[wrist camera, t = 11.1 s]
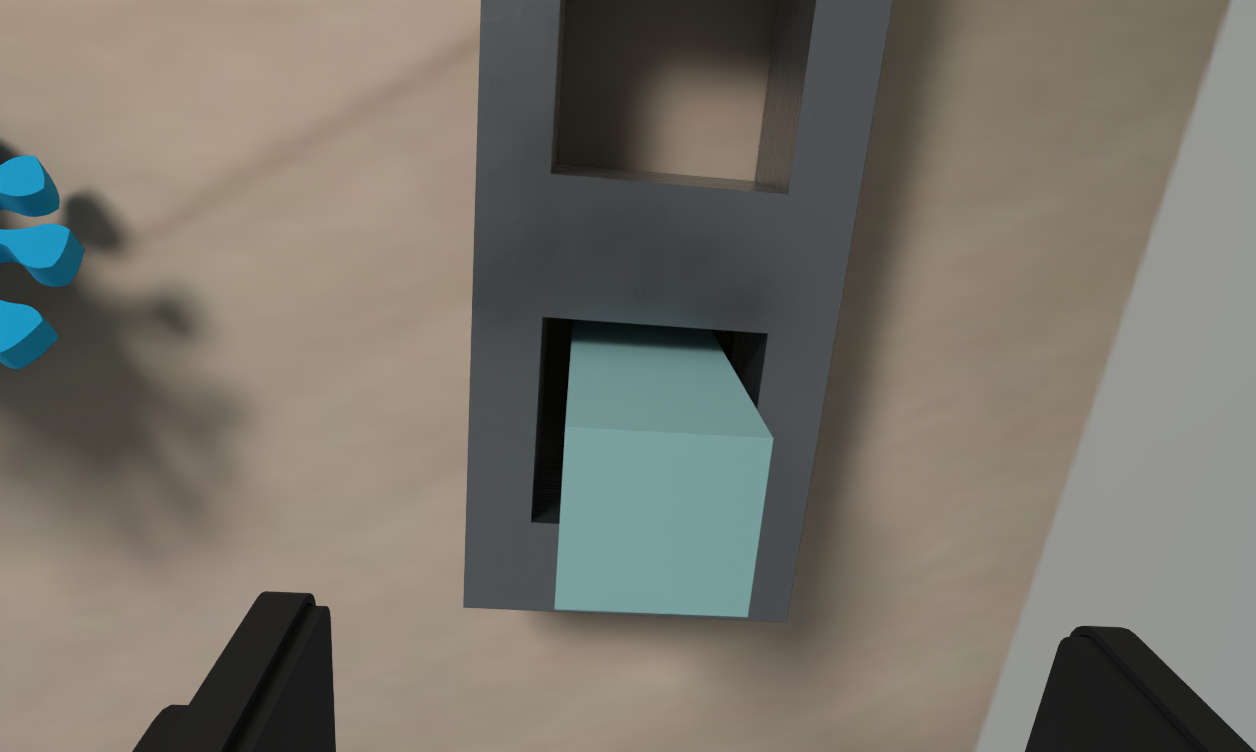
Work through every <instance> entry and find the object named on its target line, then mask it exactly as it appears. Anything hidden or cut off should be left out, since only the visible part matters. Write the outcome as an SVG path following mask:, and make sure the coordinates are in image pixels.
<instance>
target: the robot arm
mask: <svg viewBox="0 0 1256 752" xmlns="http://www.w3.org/2000/svg"><path fill="white" fill-rule="evenodd" d="M132 752H336V743H335V718H334V692H333V667H332V641H331V617H330V610H329V608H328V607H327V606H316V603H315V599H314V596H313V595H312V594H311V593H291V592H267V591H265V592H263V593H261V594H260V595H259V596H258V598H257V599H256V601H255V602H254V604H253V605H252V607H251V608H250V610H249V611H248V613H247V615H246V616H245V618H244V619H243V621H242V622H241V624H240V626H239V627H238V629H237V630H236V632H235V633H234V635H233V636H232V638H231V640H230V641H229V643H228V644H227V646H226V647H225V649H224V651H223V652H222V654H221V655H220V657H219V658H218V660H217V661H216V663H215V665H214V666H213V668H212V669H211V671H210V672H209V674H208V676H207V677H206V679H205V680H204V682H203V683H202V685H201V686H200V688H199V690H198V691H197V693H196V694H195V696H194V697H193V699H192V701H191V702H190V704H189V705H170V706H168V707H166V708H165V709H163V710H162V711H161V712H160V713H159V715H158V716H157V717H156V718H155V719H154V720H153V722H152V723H151V725H150V726H149V728H148V729H147V731H146V732H145V734H144V735H143V737H142V738H141V740H140V741H139V742H138V744H137V745H136V747H135V748H134V750H133V751H132ZM1025 752H1255V751H1254V750H1253V749H1252V748H1251V747H1250V746H1249V745H1248V744H1247V743H1246V742H1245V741H1244V740H1243V739H1242V738H1241V737H1240V736H1239V735H1238V734H1237V733H1236V732H1235V731H1234V730H1233V729H1231V727H1229V725H1227V724H1226V723H1225V722H1224V721H1223V720H1222V719H1221V718H1220V717H1219V716H1218V715H1217V714H1216V713H1215V712H1214V711H1213V710H1212V709H1211V708H1210V707H1209V706H1208V705H1207V704H1206V703H1205V702H1204V701H1203V700H1202V699H1201V698H1200V697H1199V696H1198V695H1197V694H1196V693H1195V692H1194V691H1193V690H1192V689H1191V688H1190V687H1189V686H1187V684H1186V683H1185V682H1184V681H1182V680H1181V679H1180V678H1179V677H1178V676H1177V675H1176V674H1175V673H1174V672H1173V671H1172V670H1171V669H1170V668H1169V667H1168V666H1167V665H1166V664H1165V663H1164V662H1163V661H1162V660H1161V659H1160V658H1159V657H1158V656H1157V655H1156V654H1155V653H1154V652H1153V651H1152V650H1151V649H1150V648H1149V647H1148V646H1147V645H1146V644H1145V643H1144V642H1143V641H1142V640H1141V639H1140V638H1139V637H1137V636H1136V634H1134V633H1133V632H1131V631H1130V630H1129V629H1125V628H1121V627H1098V626H1080V627H1077V628H1076V629H1074V631H1073V632H1072V633H1071V635H1070V637H1066V638H1064V639H1063V640H1062V641H1061V642H1060V644H1059V646H1058V649H1057V652H1056V655H1055V659H1054V662H1053V665H1052V668H1051V671H1050V674H1049V677H1048V681H1047V684H1046V687H1045V690H1044V693H1043V696H1042V699H1041V703H1040V706H1039V709H1038V712H1037V715H1036V718H1035V722H1034V725H1033V728H1032V731H1031V734H1030V737H1029V740H1028V743H1027V747H1026V750H1025Z"/></svg>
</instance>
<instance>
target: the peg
mask: <svg viewBox="0 0 1256 752" xmlns="http://www.w3.org/2000/svg"><path fill="white" fill-rule="evenodd" d="M772 445H773V437H772V435H771V433H770V432H769V430H768V428H767V427H766V425H765V423H764V421H763V420H762V418H761V416H760V414H759V413H758V411H757V409H756V407H755V406H754V404H753V402H752V401H751V399H750V397H749V395H748V394H747V392H746V390H745V388H744V387H743V385H742V383H741V381H740V380H739V378H738V376H737V375H736V373H735V371H734V369H733V368H732V366H731V364H730V362H729V361H728V359H727V357H726V356H725V354H724V352H723V350H722V349H721V347H720V345H719V343H718V342H717V340H716V338H715V336H714V335H713V333H712V331H711V330H710V329H700V328H687V327H673V326H659V325H646V324H632V323H618V322H605V321H591V320H577V319H573V327H572V340H571V354H570V368H569V382H568V396H567V409H566V423H565V439H564V456H563V473H562V490H561V507H560V524H559V541H558V558H557V575H556V592H555V609H557V610H582V611H607V612H632V613H657V614H682V615H707V616H733V617H748V612H749V605H750V598H751V591H752V584H753V577H754V570H755V563H756V556H757V549H758V542H759V535H760V528H761V521H762V514H763V507H764V500H765V493H766V486H767V480H768V473H769V466H770V459H771V452H772Z"/></svg>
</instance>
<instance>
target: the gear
mask: <svg viewBox="0 0 1256 752" xmlns="http://www.w3.org/2000/svg"><path fill="white" fill-rule="evenodd" d="M59 203H60V201H59V194H58V191H57V189H56V186H55V184H54V183H53V181H52V179H51V177H50V176H49V174H48V173H47V172H46V170H45V169H44V167H43V166H42V165H41V163H40V162H39V160H38V159H37V158H36V156H20V157H16V158H13V159H11V160H8V161H6V162H5V163H3V164H2V165H0V209H3V210H9V211H13V212H16V213H19V214H22V215H25V216H31V217H37V216H44V215H48V214H50V213H52V212H54V211H56V210H57V209H59ZM83 253H84V248H83V247H82V245H81V244H80V243H79V241H78V240H77V239H76V237H75V236H74V235H73V233H72V232H71V231H70V230H69V229H68V228H66V227H64V226H61V225H58V224H43V225H39V226H35V227H31V228H24V229H15V230H2V229H0V264H1V263H5V262H16V263H20V264H22V265H23V266H24V267H25V268H26V269H27V270H28V271H29V272H30V274H31V275H32V276H33V277H34V278H35V279H36V280H37V281H38V282H40V283H42V284H43V285H47V286H53V287H58V286H65V285H68V284H69V283H70V282H71V281H72V279H73V278H74V277H75V275H76V273H77V272H78V270H79V267H80V264H81V262H82V258H83ZM58 338H59V337H58V334H57V332H56V331H55V329H54V328H53V327H52V326H51V325H50V324H49V323H48V322H47V321H46V320H45V319H44V318H43V317H42V315H41V314H40V313H39V312H38V311H37V310H35V309H34V308H32V307H30V306H27V305H24V304H15V303H9V302H6V301H2V300H0V362H1V363H2V364H4V365H5V366H7V367H9V368H12V369H18V370H19V369H21V368H23V367H25V366H27V365H29V364H30V363H31V362H33V361H34V360H36V359H37V358H39V357H40V356H41V355H42V354H43V353H44V352H45V351H47V350H48V349H49V348H50V347H51V346H52V345H53V344H54V343H55V341H56V340H57V339H58Z"/></svg>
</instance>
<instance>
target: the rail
mask: <svg viewBox="0 0 1256 752" xmlns="http://www.w3.org/2000/svg"><path fill="white" fill-rule="evenodd" d="M892 2H893V0H778V8H777V15H776V23H775V31H774V38H773V46H772V53H771V61H770V69H769V76H768V84H767V91H766V99H765V107H764V114H763V122H762V129H761V137H760V144H759V152H758V160H757V167H756V175H755V181H745V180H733V179H722V178H710V177H699V176H687V175H676V174H664V173H653V172H641V171H630V170H618V169H607V168H595V167H584V166H572V165H561V164H557V150H558V133H559V116H560V99H561V82H562V65H563V48H564V31H565V14H566V0H481V22H480V56H479V91H478V125H477V159H476V194H475V228H474V262H473V297H472V331H471V365H470V400H469V434H468V468H467V503H466V537H465V571H464V606H463V607H466V608H488V609H509V610H531V611H552V612H574V613H595V614H617V615H638V616H660V617H681V618H703V619H725V620H746V621H768V622H786V621H787V615H788V610H789V604H790V598H791V592H792V586H793V580H794V574H795V569H796V563H797V557H798V551H799V545H800V539H801V534H802V528H803V522H804V516H805V510H806V504H807V499H808V493H809V487H810V481H811V475H812V469H813V463H814V458H815V452H816V446H817V440H818V434H819V428H820V423H821V417H822V411H823V405H824V399H825V393H826V387H827V382H828V376H829V370H830V364H831V358H832V352H833V347H834V341H835V335H836V329H837V323H838V317H839V311H840V306H841V300H842V294H843V288H844V282H845V276H846V271H847V265H848V259H849V253H850V247H851V241H852V236H853V230H854V224H855V218H856V212H857V206H858V200H859V195H860V189H861V183H862V177H863V171H864V165H865V160H866V154H867V148H868V142H869V136H870V130H871V124H872V119H873V113H874V107H875V101H876V95H877V89H878V84H879V78H880V72H881V66H882V60H883V54H884V48H885V43H886V37H887V31H888V25H889V19H890V13H891V8H892ZM548 317H550V318H564V319H577V320H591V321H605V322H618V323H632V324H646V325H659V326H673V327H687V328H700V329H714V330H728V331H735V334H734V342H733V350H732V357H731V366H732V368H733V369H734V371H735V373H736V375H737V376H738V378H739V380H740V381H741V383H742V385H743V387H744V388H745V390H746V392H747V394H748V395H749V397H750V399H751V401H752V402H753V404H754V406H755V407H756V409H757V411H758V413H759V414H760V416H761V418H762V420H763V421H764V423H765V425H766V427H767V428H768V430H769V432H770V433H771V435H772V437H773V445H772V452H771V459H770V466H769V473H768V480H767V486H766V493H765V500H764V507H763V514H762V521H761V528H760V535H759V542H758V549H757V556H756V563H755V570H754V577H753V584H752V591H751V598H750V605H749V612H748V617H733V616H707V615H682V614H657V613H632V612H607V611H582V610H557V609H555V592H556V575H557V558H558V541H559V524H560V507H561V490H562V473H563V462H549V461H539V458H540V441H541V424H542V407H543V390H544V373H545V355H546V338H547V321H548Z"/></svg>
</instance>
